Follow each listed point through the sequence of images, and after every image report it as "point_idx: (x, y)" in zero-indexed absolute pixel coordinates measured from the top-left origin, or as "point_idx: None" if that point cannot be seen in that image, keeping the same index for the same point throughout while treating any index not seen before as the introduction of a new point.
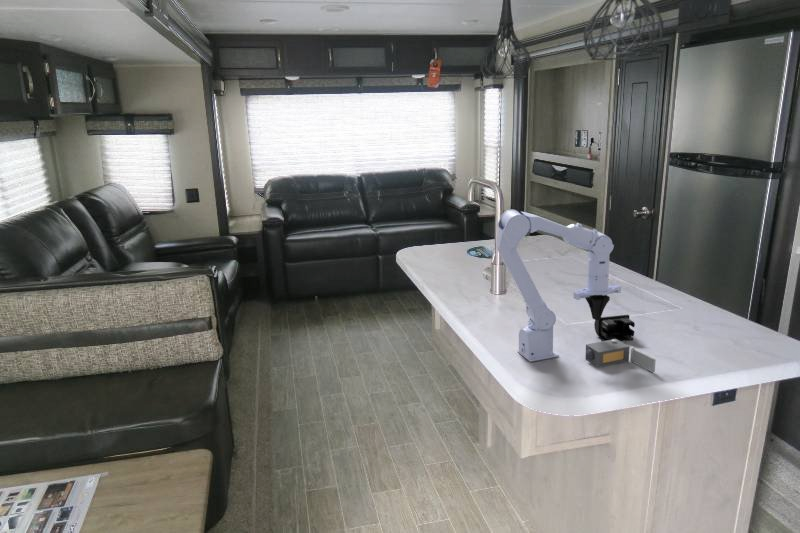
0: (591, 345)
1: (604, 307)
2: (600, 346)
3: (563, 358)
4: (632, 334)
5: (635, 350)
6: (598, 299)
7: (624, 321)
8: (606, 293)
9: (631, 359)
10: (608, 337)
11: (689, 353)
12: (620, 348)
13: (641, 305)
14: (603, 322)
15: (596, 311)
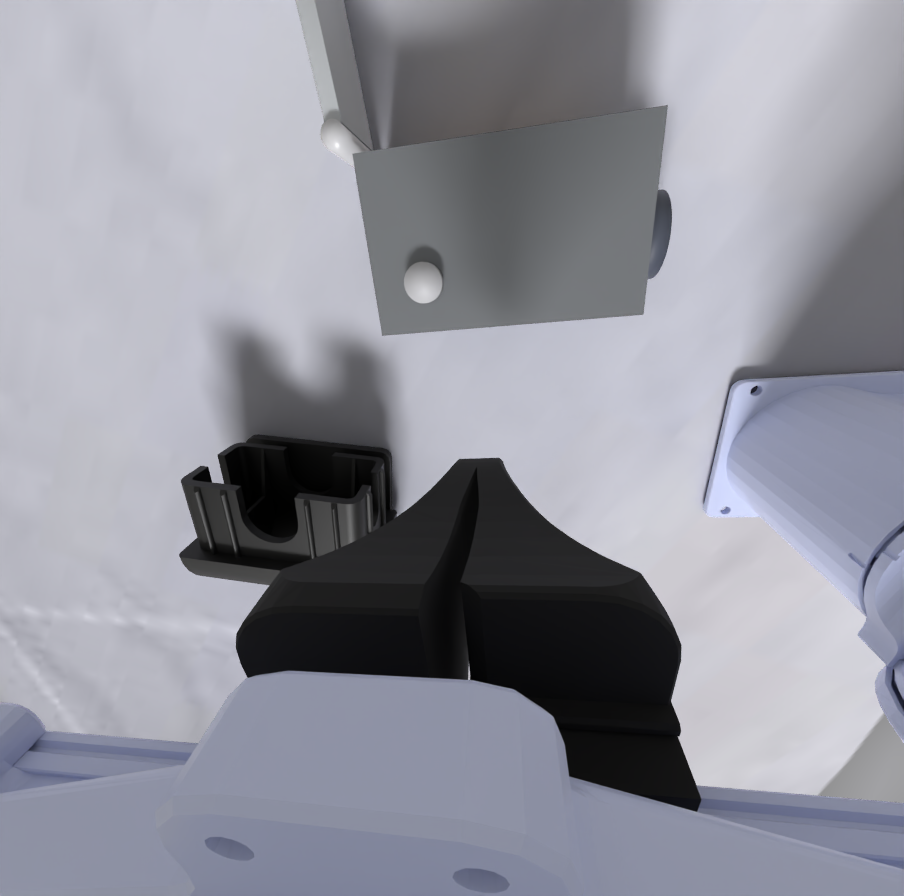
0: (618, 280)
1: (400, 516)
2: (567, 235)
3: (722, 354)
4: (238, 449)
5: (333, 85)
6: (541, 636)
7: (233, 506)
8: (313, 769)
9: None
10: (368, 463)
11: (13, 175)
12: (438, 142)
13: (120, 671)
14: None
15: (524, 498)
